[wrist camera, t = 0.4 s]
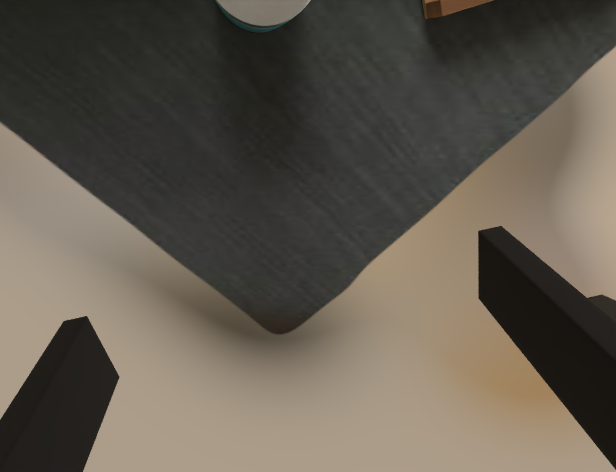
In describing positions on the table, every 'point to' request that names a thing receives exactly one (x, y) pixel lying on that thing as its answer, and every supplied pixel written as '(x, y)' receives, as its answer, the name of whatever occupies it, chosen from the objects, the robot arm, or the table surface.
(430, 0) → the corner tray
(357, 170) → the table surface
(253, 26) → the can
